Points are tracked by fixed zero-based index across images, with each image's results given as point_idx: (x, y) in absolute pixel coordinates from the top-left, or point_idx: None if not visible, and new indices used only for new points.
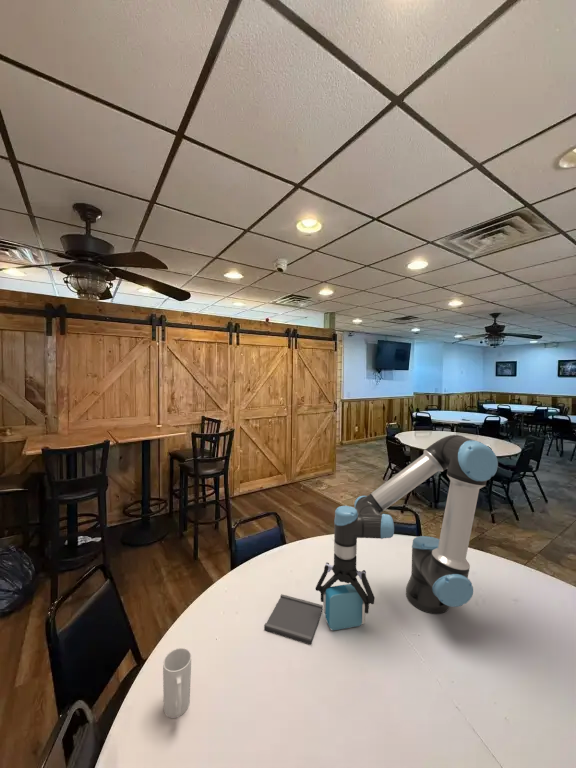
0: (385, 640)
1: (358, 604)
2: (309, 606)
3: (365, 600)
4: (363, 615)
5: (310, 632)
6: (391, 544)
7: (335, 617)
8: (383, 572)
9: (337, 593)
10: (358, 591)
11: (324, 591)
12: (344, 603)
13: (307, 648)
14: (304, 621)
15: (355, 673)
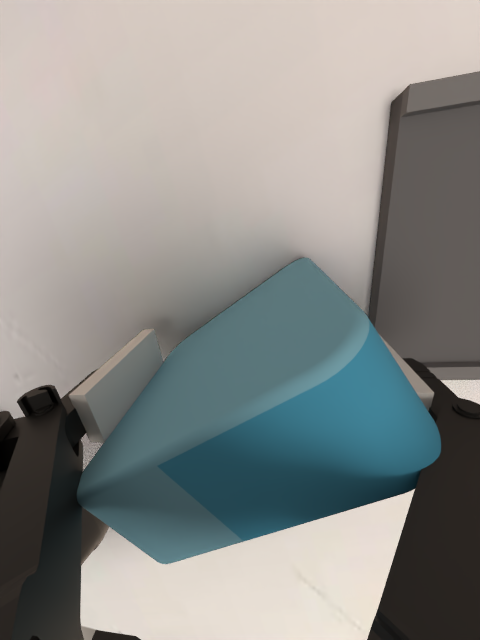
0: (85, 312)
1: (145, 400)
2: (444, 354)
3: (35, 424)
4: (125, 351)
5: (417, 167)
6: (205, 632)
7: (281, 287)
8: (194, 558)
9: (281, 415)
10: (26, 500)
11: (447, 422)
12: (218, 364)
13: (410, 59)
14: (467, 238)
15: (110, 43)
